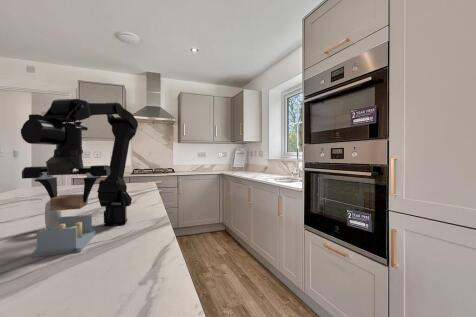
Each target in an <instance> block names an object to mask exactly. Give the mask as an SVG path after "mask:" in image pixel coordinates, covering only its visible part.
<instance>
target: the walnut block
mask: <svg viewBox="0 0 476 317" xmlns="http://www.w3.org/2000/svg"><path fill="white" fill-rule="evenodd" d="M83 194H84V193H77V194H76V193H75V194H73V193H70V194H60V195H57V197H54V198H52V199H51V198H49V199H50V211H55V210H61V211H66V210H67V211H68V210H80V209H82V208H84V207H86V206H87V205H88V204H89V203H88V202H89V200H88V199H87V201H86V202H85V203H84V201H83Z"/></svg>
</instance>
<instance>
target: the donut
mask: <svg viewBox="0 0 476 317" xmlns="http://www.w3.org/2000/svg"><path fill="white" fill-rule="evenodd" d="M60 217H62V210H55V211H50V200H48V201H47V202H46V203H45V207H44V224H45V227H46V230H47V229H53V228H58V225H59V218H60Z"/></svg>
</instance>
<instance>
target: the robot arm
mask: <svg viewBox="0 0 476 317" xmlns="http://www.w3.org/2000/svg"><path fill="white" fill-rule="evenodd" d="M102 115H106V119H107V123H108V124H109V126H111V133H112V134H113V137H114V142H113V145H112V146H113V147H112V151H111V156H110V161H109V165H108V164H106V165H105V164H103V165H101V164H100V165H90V167H84V163H83V154H84V150H83V131H88V130H89V129H88V127H87V126H86V125H84V123H83V122H82V121H83V120H87V119H89V118H90V117H93V116H102ZM115 115H118V116H115ZM138 126H139V123H138V120H137V118H136V117H135V115H134V114H133V113H131V112H130V111H129V110H127V109H125V108H124V107H123V106H122V103H121V104H120V103H119V102H96V103H95V102H89V101H88V100H83V99H80V98H62V99H54V100H52V101H51V104H50V107H49V108H48V109H47V111H46V112H45V113H44V114H43V115H42V114H38V113H37V114H36V113H35V114H34V113H33V114H28V119H27V120H25V122H24V123H23V125H22V127H21V128H20V135H21V138H22V139H23V141H24V142H25V143H26V144H27V143H28V144H29V145H30V144H31V145H45V146H55V148H54V150H53V155H52V157H50V158H48V160H46V161H45V164H46V166H45V165H44V166H43V165H42V166H25V167H24V168H23V169H22V170H21V179H33V180H34V182H36V183H37V182H38V183H39V184H41V185H42V186H43V187H44V189H45V190H46V192H47V194H48V196H49V199H52V198H54V197H57V196H58V177H57V176H75V175H86V176H85V177H84V178H83V183H84V184H83V185H84V186H83V193H82V194H83V201H84V203H85V202H86V201H87V199H88V198H89V196H90V193H91V192H92V189H93V186H94V185H95V183H96V181H97V180H98V179H101V178H102V177H105V179H101V180H99V182H98V188H97V191H96V193H97V199H98V202H99V204H100V207H101V208H102V207H105V210H104V211H103V224H104V225H103V226H104V227H109V226H110V227H111V226H120V225H122V226H123V225H126V224H127V222H128V214H127V213H128V212H127V210H128V209H127V207H130V206H131V204H132V199H133V198H132V197H131V195H130V194H129V193H128V192H127V188H128V186H127V184H126V182H125V179H124V176H125V169H126V164H127V157H128V153H129V146H130V141H131V140H132V139H133V138H134V137H135V136H136V134H137V130H138ZM54 176H56V177H54Z"/></svg>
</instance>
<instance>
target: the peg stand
mask: <svg viewBox="0 0 476 317" xmlns="http://www.w3.org/2000/svg"><path fill="white" fill-rule="evenodd" d="M92 217H93V216H92V214H82V215H69V216H61V217H60V218H59V225H58V228H53V229H47V228H46V229H38V230H37V231H36V249H35V250H34V251H32V252H31V258H39V257H45V256H46V257H47V256H54V255H55V256H56V255H63V254H71V253H81V252H82V251H83V250H84V249H85V247H86V246H87V245H88V244H89V243H90V242H91V240H92V239H93V238H94V237H95V236H96V235H97V231H96V230H93V218H92Z"/></svg>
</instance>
